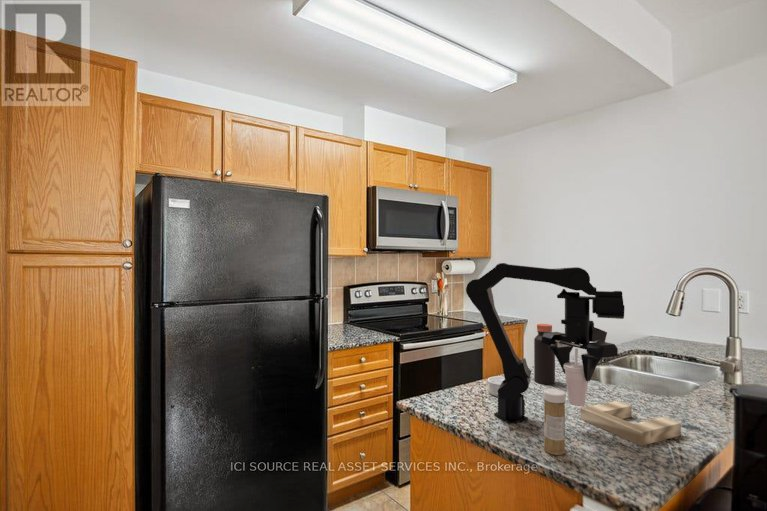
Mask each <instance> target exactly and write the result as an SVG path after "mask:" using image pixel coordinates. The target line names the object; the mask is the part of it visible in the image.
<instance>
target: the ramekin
mask: <svg viewBox="0 0 767 511" xmlns="http://www.w3.org/2000/svg"><path fill="white" fill-rule="evenodd" d="M504 380H505V377H504V376H490V377H488V378H487V383H488V392H489V394H491V395H492V396H495V397H497V398H498V389H499V387H500V385H501V383H502V381H504Z"/></svg>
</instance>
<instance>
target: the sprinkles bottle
mask: <svg viewBox="0 0 767 511" xmlns="http://www.w3.org/2000/svg"><path fill="white" fill-rule="evenodd" d="M566 401H567V400H566V392H565V391H563V390H561V389H557V388H546V389H544V390H543V403H544V404H543V407H544V408H543V409H544V411H543V412H544V414H543V419H544V420H543V436H544V437H543V438H544V442H543V443H544V446H543V450H544V451H545V452H546V453H548V454H551V455H553V456H554V455H555V456H563V455H565V453H566V448H565V447H566V443H565V440H566V410H565V409H566V405H565V404H566Z"/></svg>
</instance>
